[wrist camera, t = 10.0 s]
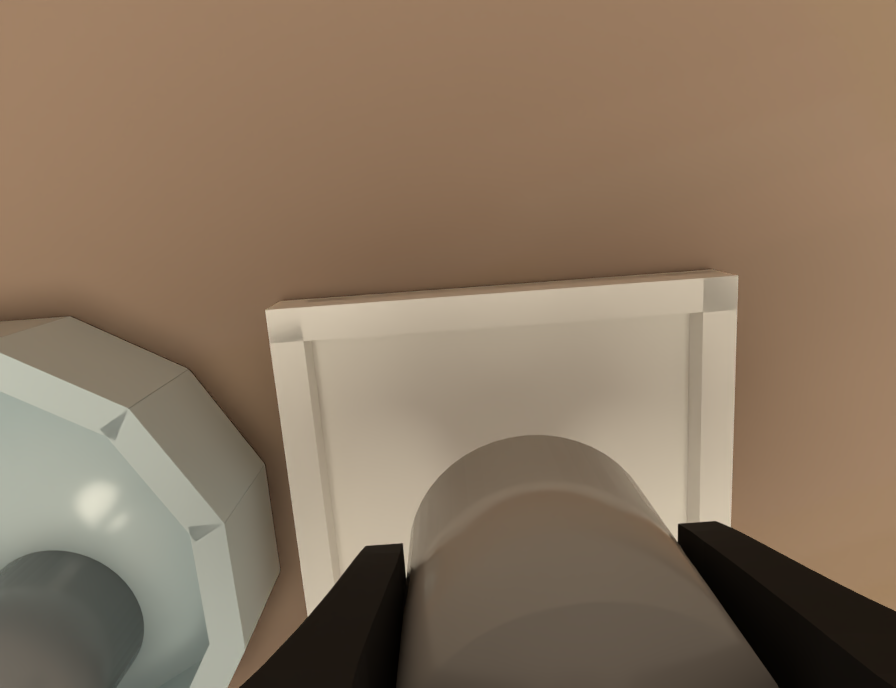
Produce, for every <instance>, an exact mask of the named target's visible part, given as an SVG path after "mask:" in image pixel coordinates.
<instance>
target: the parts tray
mask: <svg viewBox="0 0 896 688" xmlns="http://www.w3.org/2000/svg"><path fill="white" fill-rule="evenodd" d="M737 304H738V275H734V274H730V273H726V272H722V271H718V270H714V269H710V270H696V271H683V272H669V273H655V274H642V275H628V276H614V277H601V278H587V279H573V280H559V281H546V282H532V283H518V284H505V285H491V286H477V287H464V288H450V289H436V290H423V291H409V292H395V293H381V294H368V295H354V296H340V297H327V298H313V299H299V300H286V301H279V302H278V303H276V304H274V305H273V306H271V307H269V308H268V309H266V310H265V313H266V320H267V328H268V335H269V342H270V349H271V356H272V364H273V371H274V378H275V385H276V392H277V400H278V407H279V414H280V421H281V429H282V436H283V443H284V450H285V457H286V465H287V472H288V479H289V486H290V493H291V501H292V508H293V515H294V522H295V529H296V537H297V544H298V551H299V558H300V566H301V573H302V580H303V587H304V594H305V602H306V609H307V616H309V615H310V614H311V613H312V611H313V610H314V609H315V608H316V607H317V605H318V604H319V603H320V602H321V601H322V599H323V598H324V597H325V596H326V595H327V593H328V592H329V591H330V590H331V588H332V587H333V586H334V585H335V583H336V582H337V581H338V580H339V578H340V577H341V576H342V574H343V573H344V572H345V571H346V569H347V568H348V567H349V565H350V564H351V563H352V561H353V560H354V559H355V557H356V556H357V555H358V554H359V552H360V551H361V550H362V549H363V548H364V547H365V546H370V545H384V544H398V543H403V550H404V561H405V571H406V575H407V564H408V554H409V544H410V535H411V529H412V525H413V522H414V518H415V515H416V513H417V510H418V508H419V506H420V503H421V501H422V500H423V498H424V496H425V495H426V493H427V492H428V490H429V488H430V487H431V486H432V485H433V483H434V482H435V481H436V480H437V478H438V477H439V476H440V475H441V474H442V473H443V472H444V471H445V470H447V469H448V468H449V467H450V466H451V465H452V464H453V463H455V462H456V461H458V460H459V459H460V458H462V457H463V456H465V455H466V454H468V453H470V452H472V451H474V450H475V449H477V448H479V447H482V446H484V445H487V444H489V443H492V442H495V441H498V440H502V439H506V438H510V437H517V436H524V435H548V436H557V437H563V438H567V439H571V440H575V441H578V442H581V443H583V444H586V445H588V446H591V447H593V448H595V449H597V450H598V451H600V452H602V453H604V454H606V455H607V456H608V457H610V458H611V459H613V460H614V461H615V462H617V463H618V464H619V465H620V466H621V467H622V468H623V469H624V470H625V471H626V472H627V473H628V474H629V475H630V476H631V477H632V479H633V480H634V481H635V483H636V484H637V485H638V486H639V488H640V489H641V491H642V492H643V494H644V495H645V496H646V498H647V499H648V501H649V502H650V504H651V505H652V506H653V508H654V509H655V511H656V512H657V514H658V515H659V516H660V518H661V519H662V521H663V522H664V524H665V525H666V526H667V528H668V529H669V531H670V532H671V534H672V535H673V536H674V538H675V539H676V541H677V542H678V524H680V523H694V522H708V521H717V522H720V523H722V524H724V525H727V526H729V527H731V503H732V469H733V436H734V403H735V370H736V337H737Z"/></svg>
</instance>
